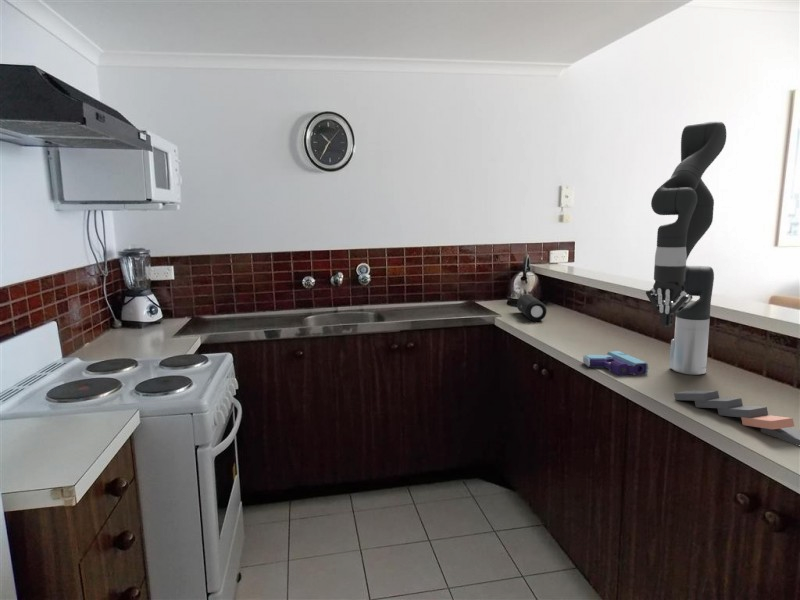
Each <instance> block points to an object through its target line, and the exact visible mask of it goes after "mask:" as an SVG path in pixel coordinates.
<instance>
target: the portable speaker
mask: <svg viewBox="0 0 800 600" xmlns="http://www.w3.org/2000/svg"><path fill="white" fill-rule="evenodd" d="M516 308H517V309H518V311H519V312H520V313H521V314H523V316H525V317H526V318H528V319H529V320H530V321H531V322H540V321H541V320H542V321H543V319H544V318H545V317H546V316H547V311H548V310H547V306H546V304H545V303H544V302H542V301H540V300H539V299H537V298H536V297H535V296H533V295H531V294H528V293H526V294H522V295H520V296H519V297H518V298H517V301H516Z"/></svg>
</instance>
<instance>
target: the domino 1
mask: <svg viewBox="0 0 800 600" xmlns="http://www.w3.org/2000/svg"><path fill="white" fill-rule="evenodd" d="M719 394H720V393H719V391H718V390H684V391H679V392H674V399H675V401H694V402H695V401H707V400H712V399H717V398H720V395H719Z"/></svg>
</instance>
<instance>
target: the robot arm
mask: <svg viewBox="0 0 800 600" xmlns="http://www.w3.org/2000/svg"><path fill="white" fill-rule="evenodd" d="M680 139H681V140H680V163H678V164H677V166H676V167H675V168H674V170H673V173H672V174H671V177H670V178H669V179H666V181H665V182H663V183H662V184H661V185H660V186H659V187H658V188H657V189H656V190H655V191H654V193H653V196H652V197H651V201H650V203H651V209H652V211H653V212H654V213H655V215H658V216H659V215H660V216H677V219H676V220H675V221H674V222H670V223H665V224H661V225H660V226H659V227H658V228H657V233H656V234H657V235H656V237H657V238H656V249H655V255H654V269H653V280H654V281H655V282H654V284H653V287H652V288H651V289H650V290H646V291H645V295H646V296H647V298H648V300H649V302H650V303H651V305H652V307H653V309H654V310H656V311H659V313H660V325H661V327H664V328H671V327H672V325H673V324H674V323H675V324H674V325H675V326H674V337H673V338H672V339H670V340H671V341H670V352H669V353H670V354H669V369H672V371H674V372H677V373H680V374H684V375H692V376H693V375H695V376H696V375H697V376H699V375H700V376H701V375H705V374H706V371H707V359H708V349H709V347H708V346H709V335H710V320H711V319H710V318H711V306H712V304H711V303H712V297H713V295H712V294H713V289H714V283H715V282H714V280H715V272H714V268H713V267H712V266H709V265H707V266H706V265H687V261H688V258H689V256H690V254H691V253H692V251H693V249H694V248H695V246H696V245H697V243H698V242H699V241H700V240H701V239H702V238H703V236H704V235H705V234H706V232H708V230H709V229H710V227H711V226H712V224H713V221H714V206H715V199H714V196H713V194H712V193H711V191H710V189H709V188H708V186H707V185H706V183H705V182H704V181H703V179H702V177H703V175H704V173H705V172H706V170H707V169H708V168H709V167H710V166H711V164H713V162H714V161H715V160H716V159H717V158H718V156H719V155H721V152H722V151H723V150H724V147H725V145H726V142H727V127H726V125H725V123H724V122H722V121H720V120H719V121H715V120H714V121H708V122H706V121H705V122H698V123H697V122H696V123H691V124H686V125H685V126H684V128H683V129H682V133H681V137H680ZM693 297H699V298H698V299H697V300H695V301H694V302H691V300H692V299H693ZM690 302H691V303H690ZM674 314H675V322H674Z"/></svg>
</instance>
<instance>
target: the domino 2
mask: <svg viewBox="0 0 800 600" xmlns="http://www.w3.org/2000/svg"><path fill="white" fill-rule="evenodd" d="M694 405H695V408H703V409H705V408H706V409H709V408H710V409H717V408H724V409H729V408H734V407H739V406H744V405H743V400H742V398H741V397H719V398H717V399H712V400H707V401H694Z"/></svg>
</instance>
